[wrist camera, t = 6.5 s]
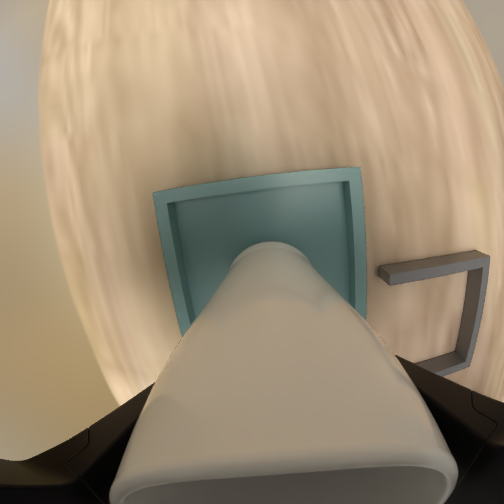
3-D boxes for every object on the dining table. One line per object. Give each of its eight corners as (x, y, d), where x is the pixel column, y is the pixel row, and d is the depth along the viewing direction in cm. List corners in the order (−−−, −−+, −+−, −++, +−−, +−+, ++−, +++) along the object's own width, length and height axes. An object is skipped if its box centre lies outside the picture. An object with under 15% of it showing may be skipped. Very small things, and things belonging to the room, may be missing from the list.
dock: (459, 355, 21) (469, 366, 20) (372, 381, 22) (379, 395, 20) (476, 250, 19) (490, 256, 17) (378, 265, 20) (389, 274, 18)
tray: (356, 337, 21) (364, 350, 19) (196, 354, 22) (191, 369, 20) (350, 168, 18) (360, 166, 16) (163, 191, 19) (152, 192, 17)
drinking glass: (235, 210, 17) (89, 377, 2) (342, 248, 17) (523, 434, 2) (202, 312, 18) (110, 537, 4) (301, 342, 19) (343, 567, 4)
